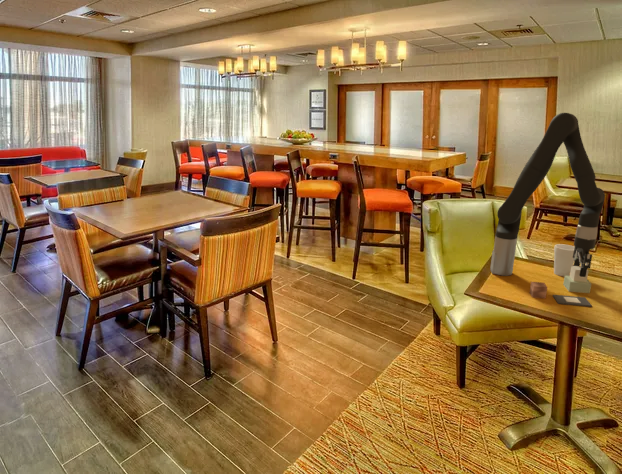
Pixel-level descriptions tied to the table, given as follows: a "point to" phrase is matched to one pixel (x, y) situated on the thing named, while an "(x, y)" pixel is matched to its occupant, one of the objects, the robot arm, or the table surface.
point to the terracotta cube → (538, 290)
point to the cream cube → (577, 274)
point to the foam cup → (563, 259)
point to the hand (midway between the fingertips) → (579, 273)
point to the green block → (576, 285)
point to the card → (572, 300)
